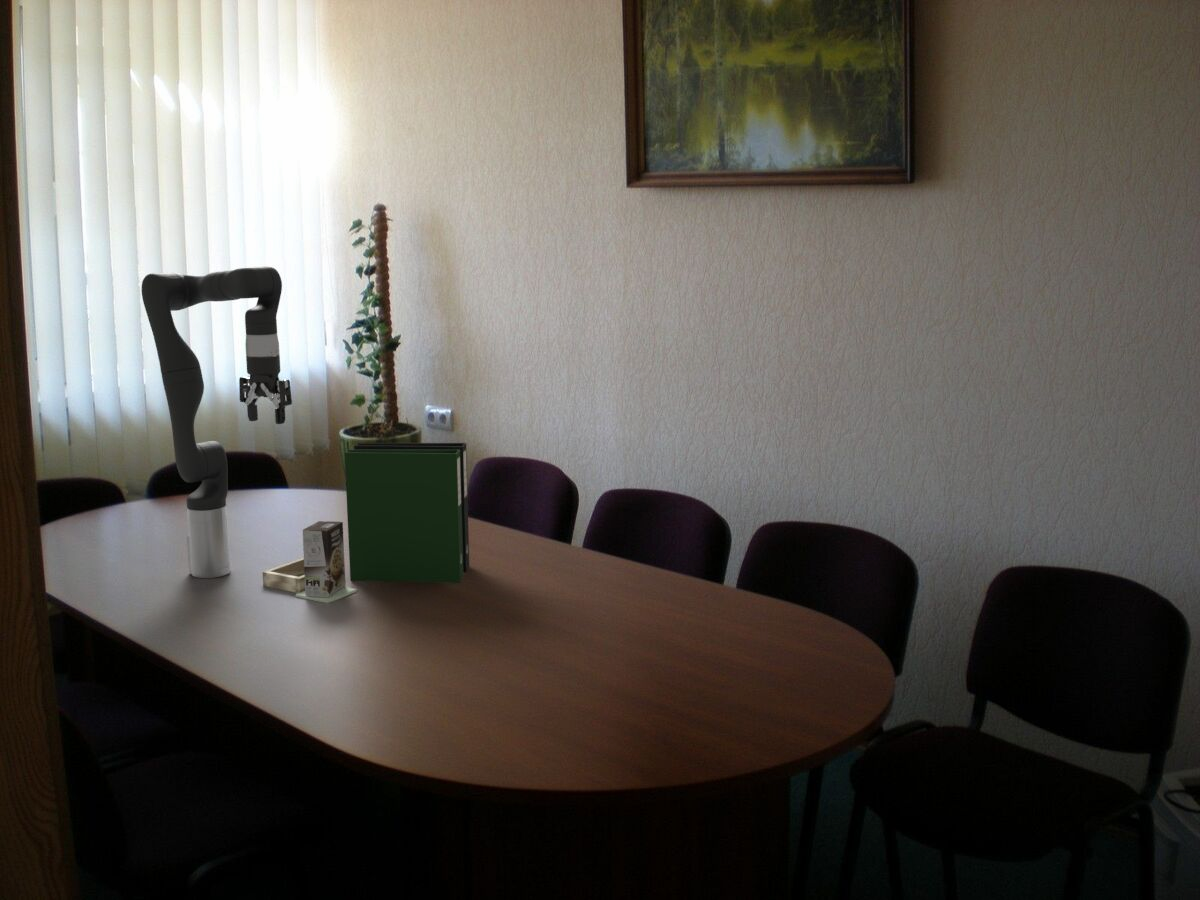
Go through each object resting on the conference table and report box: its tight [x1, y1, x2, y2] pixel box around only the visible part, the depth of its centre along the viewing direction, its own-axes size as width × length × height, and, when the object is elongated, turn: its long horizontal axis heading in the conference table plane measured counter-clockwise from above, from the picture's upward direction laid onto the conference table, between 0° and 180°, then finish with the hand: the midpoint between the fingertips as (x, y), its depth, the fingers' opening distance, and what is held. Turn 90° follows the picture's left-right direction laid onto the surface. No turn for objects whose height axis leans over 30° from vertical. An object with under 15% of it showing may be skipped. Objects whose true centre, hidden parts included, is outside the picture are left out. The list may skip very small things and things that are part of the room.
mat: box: [295, 586, 358, 604], centre depth 279 cm, size 10×10×1 cm
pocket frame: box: [261, 557, 305, 594], centre depth 289 cm, size 12×15×4 cm
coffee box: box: [302, 520, 347, 598], centre depth 277 cm, size 9×6×16 cm
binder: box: [344, 442, 470, 584], centre depth 292 cm, size 27×15×32 cm, turn 87°
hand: (266, 422), depth 278 cm, fingers open, 8 cm apart
